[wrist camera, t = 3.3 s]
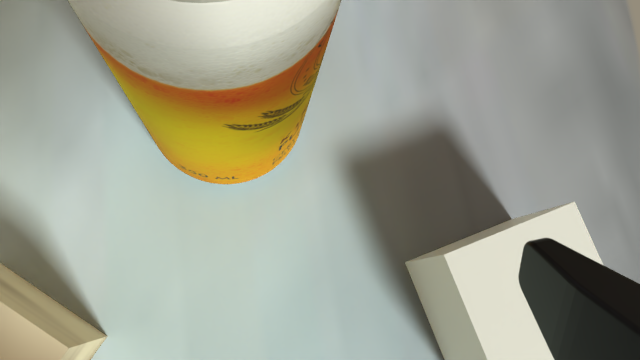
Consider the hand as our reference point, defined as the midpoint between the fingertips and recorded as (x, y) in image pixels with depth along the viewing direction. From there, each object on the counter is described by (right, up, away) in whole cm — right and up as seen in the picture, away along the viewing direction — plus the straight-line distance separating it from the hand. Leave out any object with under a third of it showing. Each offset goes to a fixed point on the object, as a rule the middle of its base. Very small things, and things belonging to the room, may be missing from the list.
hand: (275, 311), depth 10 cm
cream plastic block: (+7, -3, +14) cm, 16 cm away
